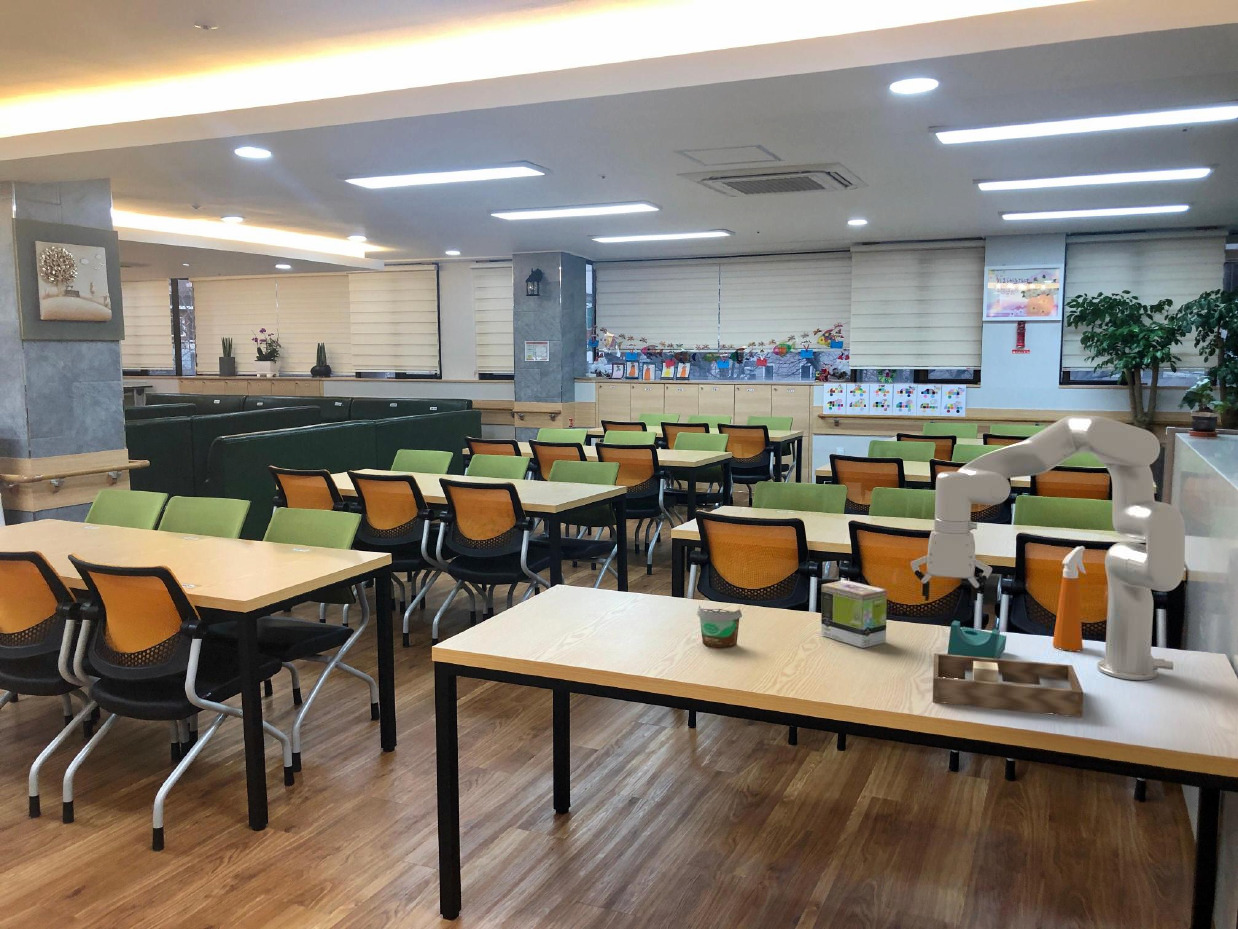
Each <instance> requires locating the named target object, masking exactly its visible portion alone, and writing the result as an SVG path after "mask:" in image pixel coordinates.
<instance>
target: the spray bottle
mask: <svg viewBox="0 0 1238 929" xmlns="http://www.w3.org/2000/svg"><path fill="white" fill-rule="evenodd" d="M1085 550H1086V548H1085V546H1083V545H1081V546H1076V547H1075V548H1074V549H1073V550H1071V552H1070V553H1068V554H1067V555H1066V556H1065V557H1064V558H1063V561H1062V562H1061V564H1062V565H1064V568H1062V579H1061V587H1060V592H1059V599H1058V600H1059V601H1058V606H1057V613H1056V619H1055V620H1056V621H1055V627H1054V634H1053V638H1052V639H1053V640H1052V646H1053V647H1054V648H1055V647H1057V648H1061V649H1063V650H1062V651H1064V650H1071V651H1070V652H1078V650H1080V651H1082V650H1083V649H1084V648H1083V634H1082V632H1083V631H1082V618H1081V616H1082V615H1081V601H1080V600H1081V599H1080V586H1079V585H1080V584H1079V570H1080V573H1083V574H1085V575H1087V572H1086V569H1085V566H1084V564H1083V555H1084V554H1083V552H1085ZM1057 648H1056V649H1057Z"/></svg>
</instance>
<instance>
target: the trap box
mask: <svg viewBox="0 0 1238 929" xmlns="http://www.w3.org/2000/svg"><path fill="white" fill-rule="evenodd" d="M973 661H980V662H991V663H997V665H998V683H996V682H985V681H975V680H973ZM932 671H933V673H932V674H933V677H932V702H933V701H935V702H934V703H938V702H946V703H945V704H948V703H952V704H951V705H957V704H960V706H967V705H970V706H969V707H977V708H978V707H979V708H987V709H999V710H1005V711H1007V710H1008V711H1016V712H1025V713H1037V714H1044V713H1053V714H1058V715H1057V716H1063V715H1068V716H1067V717H1072V716H1075V717H1076V718H1083V711H1084V690H1083V687H1082V685H1081V682H1080V680H1079V678H1078V676H1077V673H1076V671H1075V668H1074V667H1073V665H1072V664H1061V663H1050V662H1040V661H1039V662H1037V661H1028V660H1027V661H1026V660H1017V659H1014V660H1013V659H1004V658H999V659H994V658H983V657H971V656H960V655H948V654H947V653H946V654H945V653H936V652H934V653H933V670H932ZM943 677H945V678H943ZM954 678H958V679H954ZM1053 714H1052V715H1053ZM1075 717H1074V718H1075Z"/></svg>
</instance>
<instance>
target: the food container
mask: <svg viewBox="0 0 1238 929" xmlns="http://www.w3.org/2000/svg"><path fill="white" fill-rule="evenodd" d="M696 615H697V617H699V623H700V631H701V642H703V643H702V645H703V644H704V645H705V647H707V648H710V649H717V650H719V649H720V650H721V649H725V650H726V649H731V648H734V647H736V646H737V644H738V636H739V628H740V626H739V625H740V618H742V617H743V614H742V611H741V608H740V609H737V610H735V611H733V610H732V611H731V610H726V609H723V608H722V609H721V608H713V609H710V608H702V607H701V605H699V606H698V609H697V612H696ZM704 645H703V646H704Z"/></svg>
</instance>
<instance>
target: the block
mask: <svg viewBox="0 0 1238 929" xmlns="http://www.w3.org/2000/svg"><path fill="white" fill-rule="evenodd" d="M973 680H975V681H985V682H996V683H998V665H997V663H991V662H980V661H973Z"/></svg>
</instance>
